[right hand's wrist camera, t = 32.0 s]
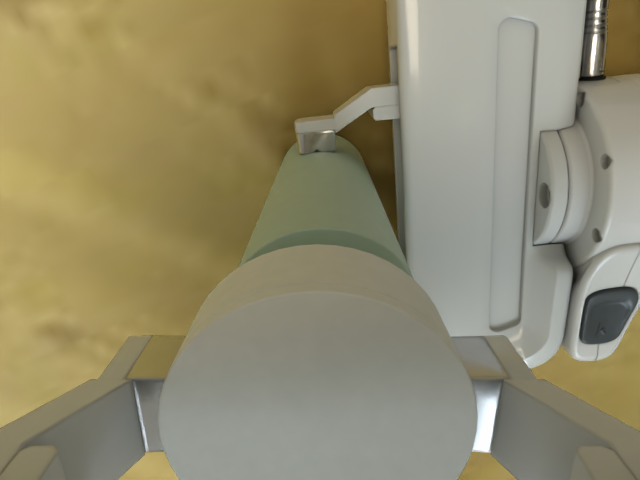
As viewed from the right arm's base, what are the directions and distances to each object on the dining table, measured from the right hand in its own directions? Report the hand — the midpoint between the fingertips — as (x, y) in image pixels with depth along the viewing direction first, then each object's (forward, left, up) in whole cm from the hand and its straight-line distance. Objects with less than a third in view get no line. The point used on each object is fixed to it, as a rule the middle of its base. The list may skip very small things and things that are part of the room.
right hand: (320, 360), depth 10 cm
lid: (0, 0, +2) cm, 2 cm away
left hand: (0, +1, -13) cm, 13 cm away
